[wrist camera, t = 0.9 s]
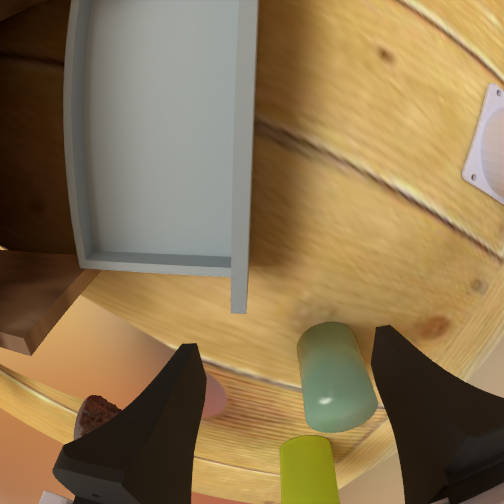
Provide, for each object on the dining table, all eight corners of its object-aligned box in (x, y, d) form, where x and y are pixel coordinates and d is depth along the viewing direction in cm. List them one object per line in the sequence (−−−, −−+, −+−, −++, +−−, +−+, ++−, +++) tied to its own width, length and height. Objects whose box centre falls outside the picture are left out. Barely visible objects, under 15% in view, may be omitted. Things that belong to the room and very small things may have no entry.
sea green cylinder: (365, 328, 24) (391, 393, 17) (339, 370, 26) (355, 434, 19) (310, 315, 23) (325, 384, 17) (288, 360, 25) (294, 429, 19)
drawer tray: (261, -43, 13) (261, -83, 8) (248, 270, 21) (246, 313, 17) (95, -23, 13) (57, -46, 8) (97, 262, 21) (64, 298, 17)
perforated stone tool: (118, 452, 34) (104, 493, 28) (82, 437, 33) (66, 476, 27) (138, 400, 28) (119, 454, 22) (91, 378, 27) (65, 429, 21)
